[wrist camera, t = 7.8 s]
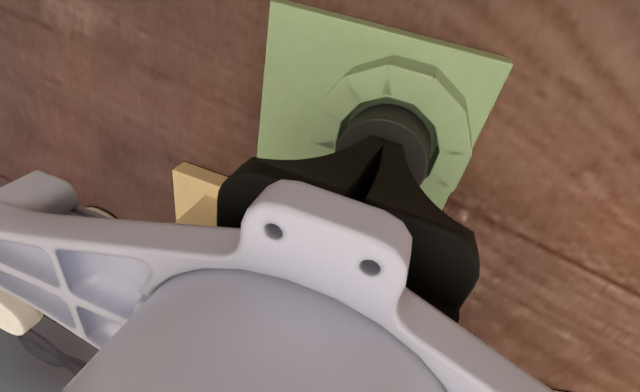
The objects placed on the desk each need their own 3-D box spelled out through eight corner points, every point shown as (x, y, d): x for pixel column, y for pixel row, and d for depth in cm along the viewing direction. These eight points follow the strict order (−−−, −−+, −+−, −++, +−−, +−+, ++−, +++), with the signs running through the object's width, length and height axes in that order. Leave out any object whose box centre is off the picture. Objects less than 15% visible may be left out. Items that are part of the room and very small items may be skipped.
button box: (510, 57, 14) (521, 76, 12) (436, 211, 19) (432, 246, 16) (281, -2, 16) (249, 3, 13) (265, 153, 20) (239, 178, 18)
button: (444, 118, 14) (443, 135, 12) (414, 193, 16) (409, 215, 14) (356, 92, 14) (344, 105, 13) (337, 167, 16) (326, 186, 15)
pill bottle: (82, 193, 28) (-47, 270, 21) (138, 229, 28) (30, 318, 21) (78, 233, 31) (-34, 311, 24) (129, 265, 31) (32, 352, 24)
